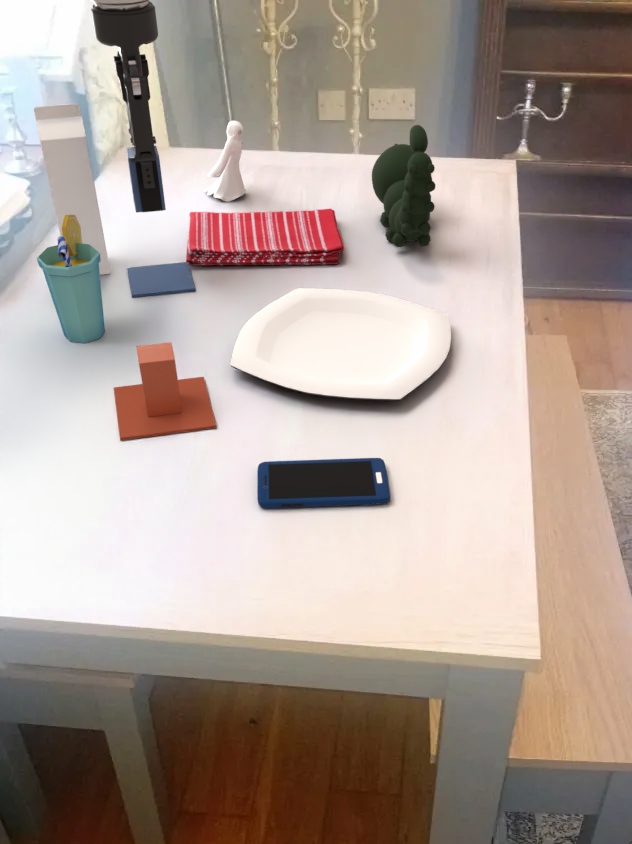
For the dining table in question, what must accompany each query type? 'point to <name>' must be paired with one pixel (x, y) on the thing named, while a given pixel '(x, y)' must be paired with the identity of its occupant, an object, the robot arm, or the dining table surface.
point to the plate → (343, 344)
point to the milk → (71, 173)
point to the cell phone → (322, 483)
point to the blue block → (134, 179)
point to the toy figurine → (405, 189)
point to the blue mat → (160, 279)
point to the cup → (74, 283)
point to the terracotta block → (159, 379)
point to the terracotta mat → (140, 425)
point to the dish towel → (264, 238)
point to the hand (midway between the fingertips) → (150, 203)
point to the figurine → (228, 167)
